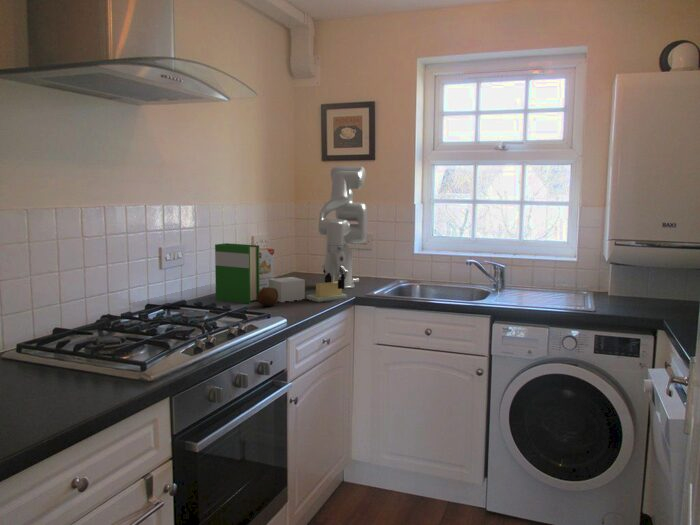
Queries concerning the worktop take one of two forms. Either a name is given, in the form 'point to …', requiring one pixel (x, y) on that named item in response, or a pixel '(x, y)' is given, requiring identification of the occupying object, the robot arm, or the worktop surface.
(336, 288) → the tan wooden brick
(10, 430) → the worktop surface
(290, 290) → the notched white block
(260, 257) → the cracker box
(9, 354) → the worktop surface
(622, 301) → the worktop surface
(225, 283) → the hardback book
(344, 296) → the tray
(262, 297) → the potato
